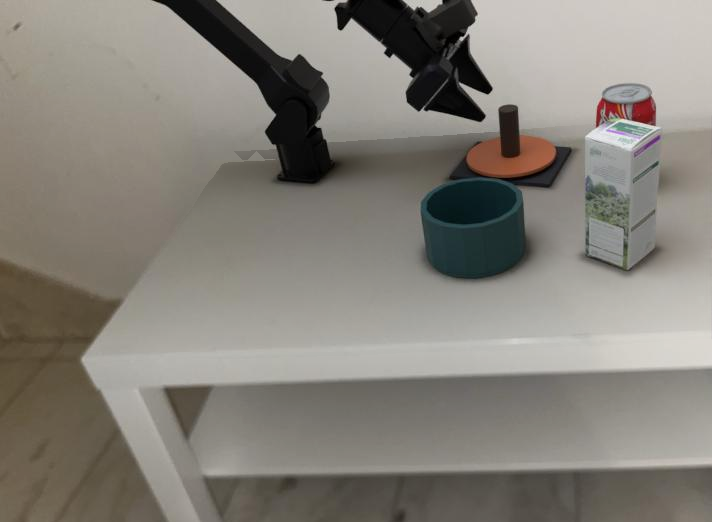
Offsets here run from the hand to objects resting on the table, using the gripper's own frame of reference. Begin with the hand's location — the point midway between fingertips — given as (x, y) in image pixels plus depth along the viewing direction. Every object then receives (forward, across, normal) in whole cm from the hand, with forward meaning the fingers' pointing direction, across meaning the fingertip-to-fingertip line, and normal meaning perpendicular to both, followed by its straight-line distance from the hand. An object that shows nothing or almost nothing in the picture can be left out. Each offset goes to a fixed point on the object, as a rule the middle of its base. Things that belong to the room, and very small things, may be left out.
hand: (487, 105), depth 101 cm
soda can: (+19, -7, -6) cm, 21 cm away
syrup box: (+18, -23, -6) cm, 30 cm away
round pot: (+6, -22, +6) cm, 24 cm away
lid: (+7, 0, +3) cm, 8 cm away
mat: (+8, 0, +4) cm, 9 cm away
